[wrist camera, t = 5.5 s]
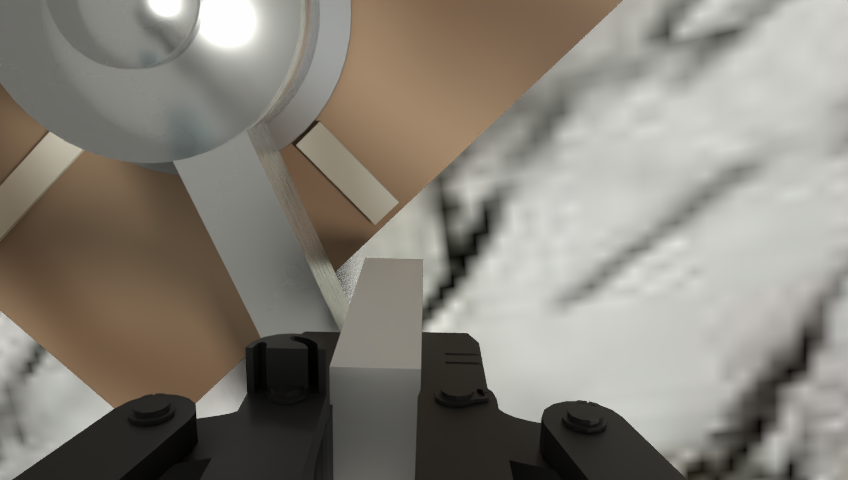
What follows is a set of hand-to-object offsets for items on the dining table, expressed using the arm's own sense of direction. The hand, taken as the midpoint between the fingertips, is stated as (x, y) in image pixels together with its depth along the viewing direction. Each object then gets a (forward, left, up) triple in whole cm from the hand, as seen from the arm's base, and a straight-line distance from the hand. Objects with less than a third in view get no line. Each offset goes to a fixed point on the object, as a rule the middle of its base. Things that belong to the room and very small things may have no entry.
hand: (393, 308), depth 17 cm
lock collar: (0, -4, -1) cm, 5 cm away
